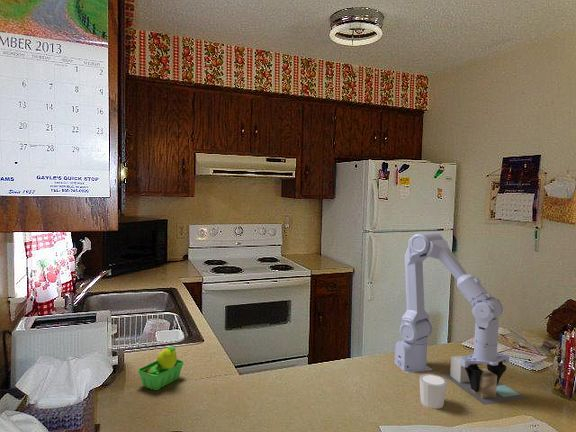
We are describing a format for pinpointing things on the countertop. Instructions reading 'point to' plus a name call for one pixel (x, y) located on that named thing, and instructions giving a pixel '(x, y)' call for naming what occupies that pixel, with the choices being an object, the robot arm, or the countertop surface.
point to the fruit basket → (161, 370)
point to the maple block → (487, 384)
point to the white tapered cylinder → (432, 390)
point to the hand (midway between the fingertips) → (483, 389)
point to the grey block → (458, 370)
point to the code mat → (501, 396)
